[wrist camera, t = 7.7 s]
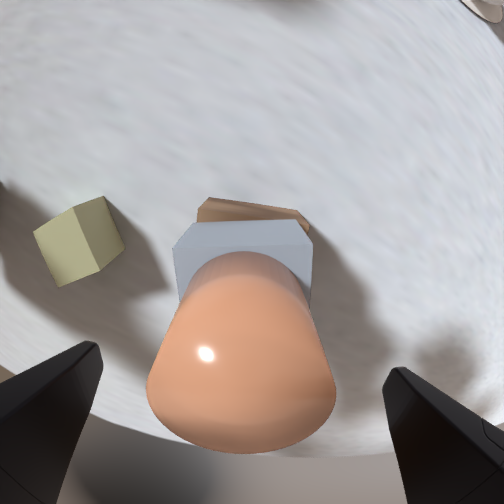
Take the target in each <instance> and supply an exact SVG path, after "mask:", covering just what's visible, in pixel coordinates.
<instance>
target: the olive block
mask: <svg viewBox="0 0 504 504" xmlns="http://www.w3.org/2000/svg"><path fill="white" fill-rule="evenodd" d="M33 233H34V236H35V238H36V241H37V243H38V246H39V248H40V250H41V253H42V255H43V257H44V259H45V262H46V264H47V266H48V268H49V270H50V272H51V274H52V276H53V278H54V280H55V282H56V284H57V286H58V288H59V287H61V286H64V285H66V284H69V283H71V282H74V281H76V280H78V279H81V278H83V277H86V276H88V275H91V274H93V273H96V272H98V271H101V270H102V269H103V268H104V267H105V266H106V265H107V264H109V263H110V262H111V261H112V260H113V259H114V258H115V257H117V256H118V255H119V254H120V253H121V252H123V251H124V250H125V246H124V244H123V242H122V240H121V237H120V235H119V233H118V230H117V228H116V226H115V223H114V221H113V218H112V216H111V213H110V211H109V208H108V206H107V203H106V201H105V198H104V196H102V197H99V198H96V199H93V200H90V201H88V202H85V203H82V204H79V205H77V206H74V207H72V208H70V209H68V210H67V211H65V212H63V213H62V214H60V215H58V216H57V217H55V218H54V219H52V220H50V221H49V222H47V223H46V224H44V225H42V226H41V227H39V228H38V229H36V230H35V231H33Z"/></svg>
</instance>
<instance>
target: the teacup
mask: <svg viewBox="0 0 504 504" xmlns="http://www.w3.org/2000/svg"><path fill="white" fill-rule="evenodd" d="M461 1H463V2H464V3H465V4H466V5H467V6H468V7H469V8H470V9H471V10H473V11H474V12H475V13H476V14H478V15H479V16H480V17H482V18H484V19H485V20H487V21H489V22H492V23H499V22H500V21H501V20H502V17H503V12H502V7H501V5H504V0H461Z"/></svg>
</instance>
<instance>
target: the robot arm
mask: <svg viewBox="0 0 504 504" xmlns="http://www.w3.org/2000/svg"><path fill="white" fill-rule="evenodd" d="M102 372H103V360H102V357H101V353H100V348H99V346H98V344H97V343H94V342H91V341H83V342H81V343H79V344H77V345H75V346H73V347H71V348H70V349H68V350H66V351H64V352H62V353H60V354H58V355H56V356H54V357H52V358H50V359H48V360H46V361H44V362H42V363H40V364H38V365H36V366H34V367H32V368H30V369H28V370H26V371H24V372H22V373H20V374H18V375H16V376H14V377H12V378H10V379H8V380H6V381H4V382H2V383H0V504H56V502H57V499H58V496H59V493H60V490H61V487H62V483H63V481H64V478H65V475H66V472H67V469H68V466H69V463H70V461H71V458H72V455H73V452H74V450H75V447H76V444H77V442H78V439H79V437H80V434H81V432H82V429H83V427H84V424H85V422H86V420H87V417H88V415H89V412H90V410H91V407H92V404H93V400H94V397H95V394H96V390H97V387H98V384H99V381H100V378H101V375H102ZM382 393H383V398H384V403H385V409H386V414H387V420H388V425H389V430H390V434H391V438H392V442H393V445H394V449H395V453H396V457H397V460H398V464H399V468H400V472H401V477H402V481H403V485H404V490H405V494H406V499H407V503H408V504H504V431H502V430H501V429H499V428H497V427H495V426H494V425H492V424H491V423H489V422H488V421H486V420H484V419H483V418H481V417H480V416H478V415H477V414H475V413H474V412H472V411H471V410H469V409H468V408H466V407H465V406H463V405H461V404H460V403H458V402H457V401H455V400H454V399H452V398H451V397H449V396H448V395H446V394H445V393H443V392H442V391H440V390H439V389H437V388H436V387H434V386H433V385H431V384H430V383H428V382H427V381H425V380H424V379H422V378H421V377H419V376H418V375H416V374H415V373H413V372H412V371H410V370H409V369H407V368H406V367H395V368H393V369H392V370H391V371H390V373H389V375H388V377H387V379H386V381H385V383H384V385H383V389H382Z"/></svg>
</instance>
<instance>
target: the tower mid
mask: <svg viewBox="0 0 504 504" xmlns="http://www.w3.org/2000/svg"><path fill="white" fill-rule="evenodd" d="M172 250H173V258H174V266H175V273H176V280H177V287H178V293H179V300H180V301H181V299H182V297H183V295H184V292H185V290H186V288H187V286H188V284H189V282H190V280H191V278H192V277H193V275H194V274H195V273H196V271H197V270H198V269H199V268H200V267H201V266H202V265H204V264H205V263H206V262H208V261H209V260H211V259H213V258H215V257H217V256H220V255H223V254H226V253H230V252H237V251H251V252H257V253H261V254H265V255H268V256H270V257H272V258H274V259H276V260H278V261H280V262H281V263H283V264H284V265H285V266H286V267H287V268H289V270H290V271H291V272H292V273H293V274H294V275H295V277H296V278H297V280H298V282H299V284H300V286H301V288H302V291H303V294H304V296H305V299H306V302H307V305H308V307H309V308H310V294H311V277H312V257H313V243H312V242H311V240H310V239H309V237H308V236H307V235H306V233H305V232H304V230H303V229H302V227H301V226H300V225H299V223H298V222H297V220H296V219H288V220H250V221H223V222H200V223H193V224H192V225H191V226H190V227H189V229H188V230H187V231H186V232H185V233H184V235H183V236H182V237H181V238H180V239H179V241H178V242H177V243H176V244H175V246H174V247H173V248H172Z"/></svg>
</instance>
